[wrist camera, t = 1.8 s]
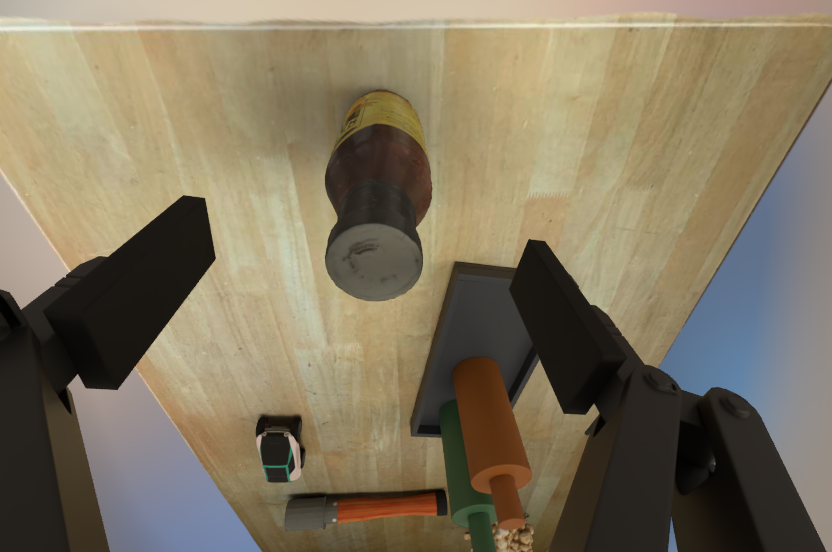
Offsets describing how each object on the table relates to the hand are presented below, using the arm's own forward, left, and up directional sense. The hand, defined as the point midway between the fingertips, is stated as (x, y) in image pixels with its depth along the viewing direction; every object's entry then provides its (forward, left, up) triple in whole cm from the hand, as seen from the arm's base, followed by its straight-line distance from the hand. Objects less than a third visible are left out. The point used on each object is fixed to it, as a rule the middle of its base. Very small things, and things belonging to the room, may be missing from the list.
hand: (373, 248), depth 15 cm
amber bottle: (+29, +16, -18) cm, 38 cm away
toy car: (+48, -10, -19) cm, 52 cm away
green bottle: (+38, +16, -18) cm, 45 cm away
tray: (+27, +16, -19) cm, 37 cm away
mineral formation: (+78, +35, -19) cm, 87 cm away
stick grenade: (+68, +5, -19) cm, 71 cm away
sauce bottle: (0, 0, -19) cm, 19 cm away
